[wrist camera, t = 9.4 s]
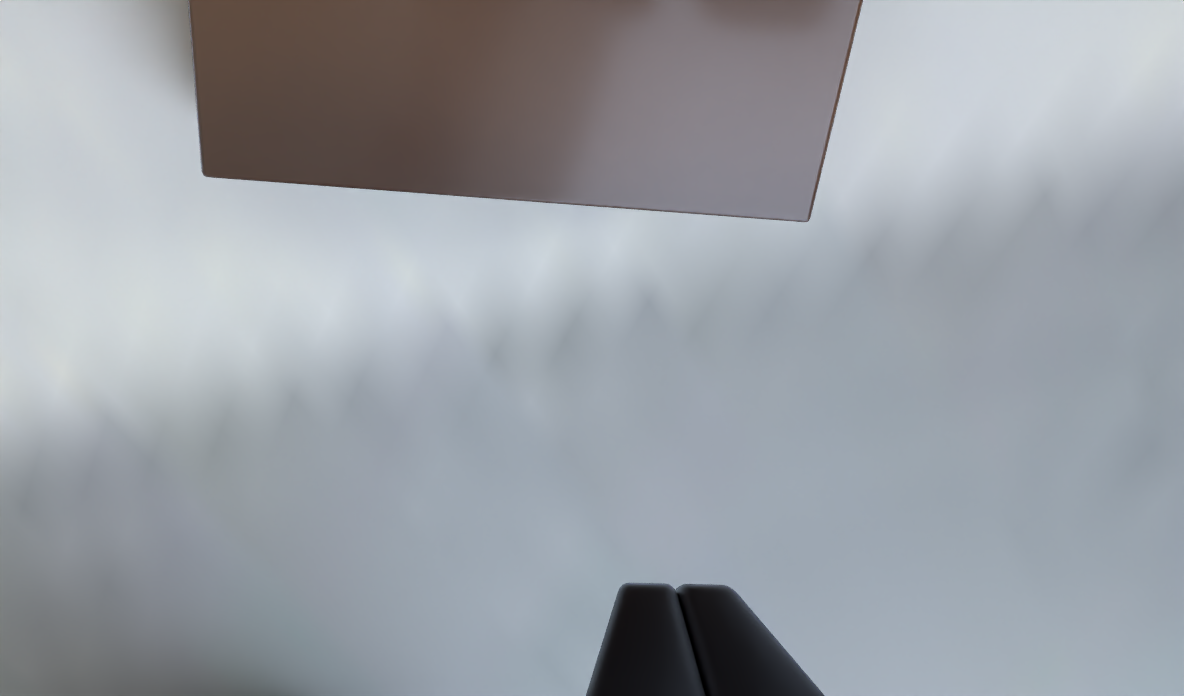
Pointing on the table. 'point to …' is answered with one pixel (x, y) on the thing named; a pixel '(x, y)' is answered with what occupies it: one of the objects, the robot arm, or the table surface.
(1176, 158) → the table surface
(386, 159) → the riser
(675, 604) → the robot arm
